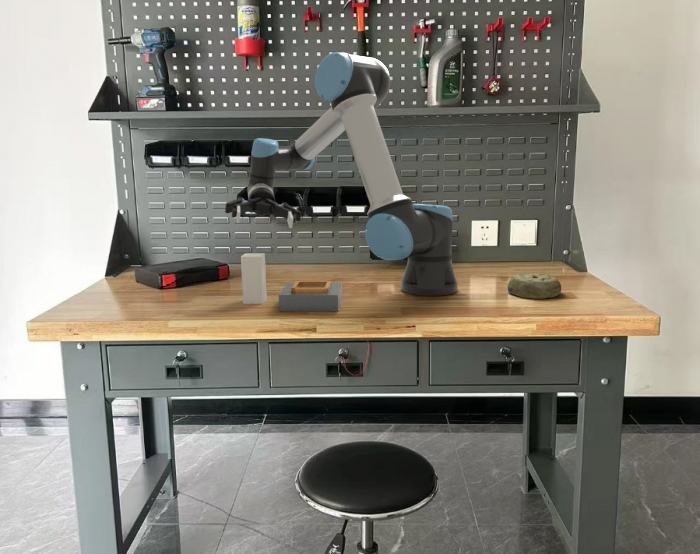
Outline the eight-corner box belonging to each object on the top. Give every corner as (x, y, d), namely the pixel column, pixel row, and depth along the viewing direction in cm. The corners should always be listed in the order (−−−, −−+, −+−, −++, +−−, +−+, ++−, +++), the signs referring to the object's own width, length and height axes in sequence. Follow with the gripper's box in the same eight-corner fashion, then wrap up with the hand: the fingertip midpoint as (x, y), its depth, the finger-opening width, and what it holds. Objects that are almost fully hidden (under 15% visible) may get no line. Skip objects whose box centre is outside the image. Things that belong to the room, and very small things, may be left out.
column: (266, 299, 154) (264, 253, 152) (262, 303, 149) (260, 256, 147) (247, 299, 155) (245, 253, 152) (243, 303, 150) (240, 256, 147)
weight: (563, 301, 148) (564, 282, 148) (507, 299, 152) (508, 280, 151) (558, 289, 161) (559, 271, 160) (507, 287, 165) (507, 270, 164)
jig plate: (342, 297, 155) (342, 278, 154) (338, 311, 141) (337, 290, 140) (288, 297, 155) (288, 278, 154) (279, 311, 142) (278, 290, 141)
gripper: (302, 216, 177) (310, 239, 158) (216, 207, 171) (214, 229, 152) (305, 192, 174) (314, 211, 155) (218, 181, 169) (216, 200, 149)
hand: (265, 220), depth 153 cm, fingers open, 13 cm apart
